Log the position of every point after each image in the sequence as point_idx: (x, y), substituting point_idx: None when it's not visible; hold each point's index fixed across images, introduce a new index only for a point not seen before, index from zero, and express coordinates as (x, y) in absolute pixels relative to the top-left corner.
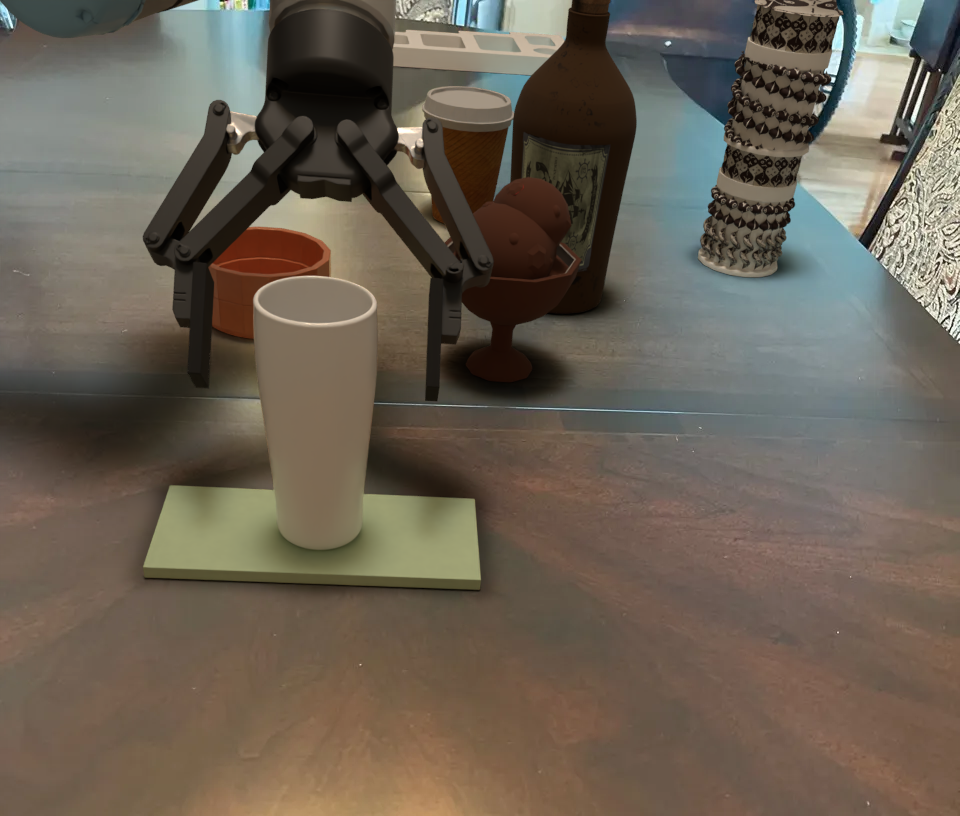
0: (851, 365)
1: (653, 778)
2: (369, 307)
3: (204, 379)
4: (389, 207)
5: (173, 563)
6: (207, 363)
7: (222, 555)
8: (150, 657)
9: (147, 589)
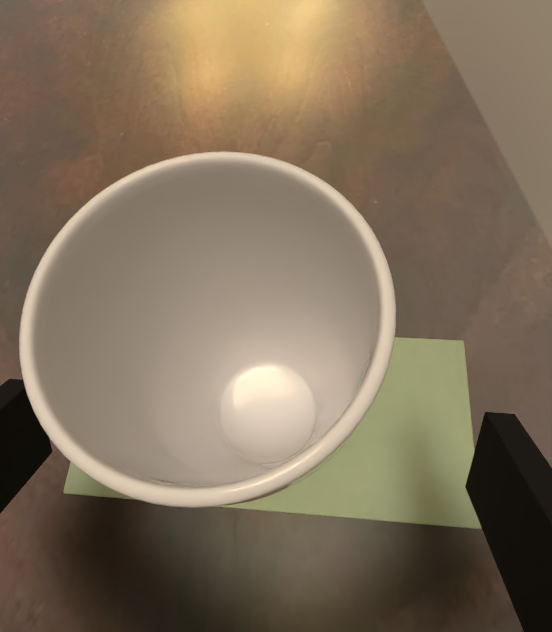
0: None
1: (47, 130)
2: (54, 353)
3: (476, 448)
4: None
5: (431, 347)
6: (486, 502)
7: None
8: (420, 234)
9: (449, 326)
